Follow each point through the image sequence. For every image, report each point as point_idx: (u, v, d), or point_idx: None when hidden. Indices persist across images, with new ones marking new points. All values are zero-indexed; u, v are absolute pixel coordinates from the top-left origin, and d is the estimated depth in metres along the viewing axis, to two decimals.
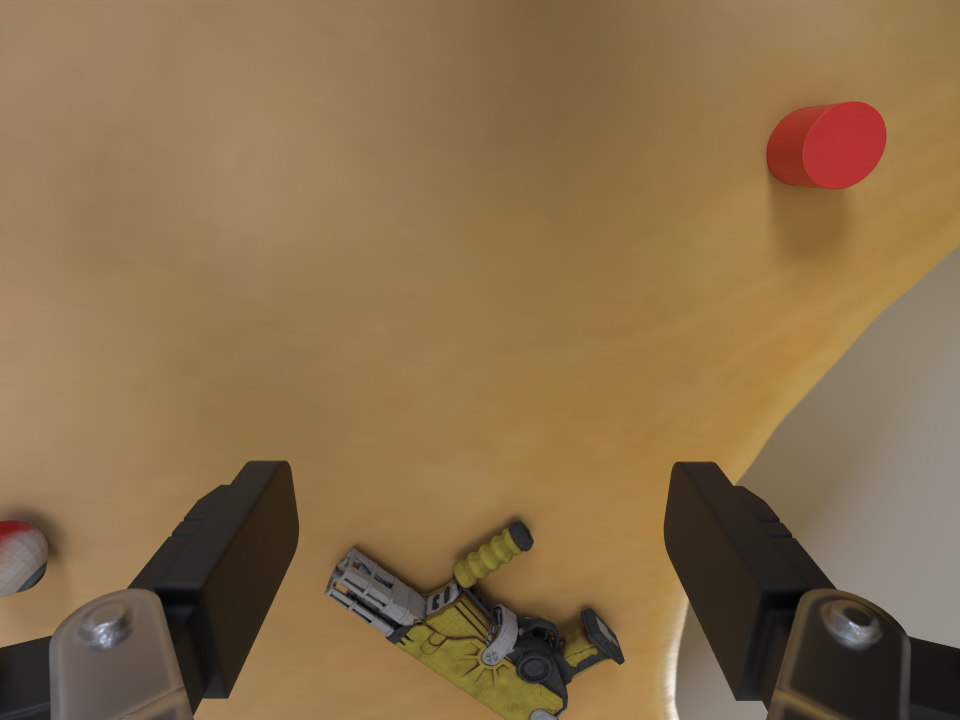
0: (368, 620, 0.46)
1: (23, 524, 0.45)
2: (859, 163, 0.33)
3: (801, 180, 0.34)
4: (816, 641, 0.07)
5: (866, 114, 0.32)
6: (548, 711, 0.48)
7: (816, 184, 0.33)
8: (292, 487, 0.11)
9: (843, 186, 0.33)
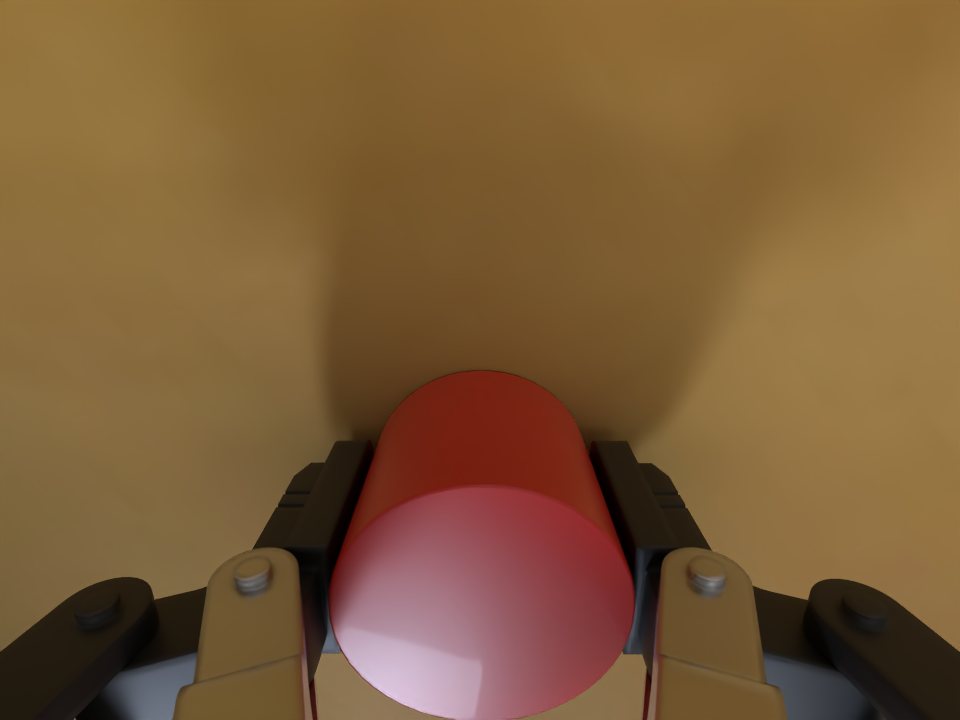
0: None
1: None
2: (447, 544, 0.08)
3: (608, 511, 0.09)
4: (681, 600, 0.07)
5: (383, 666, 0.09)
6: None
7: (614, 541, 0.08)
8: None
9: (531, 498, 0.08)
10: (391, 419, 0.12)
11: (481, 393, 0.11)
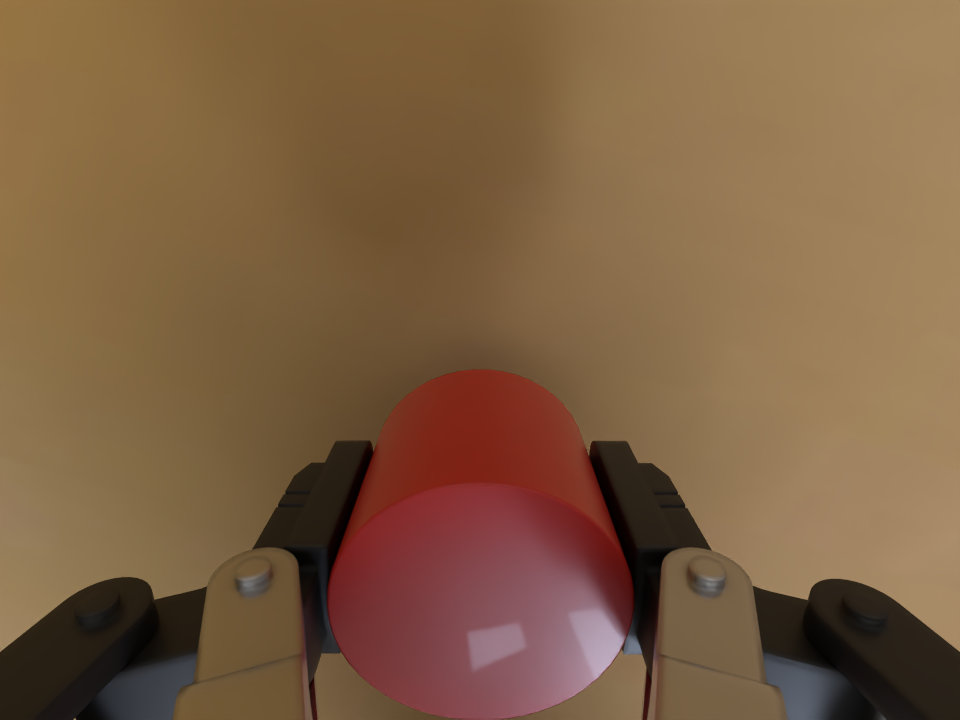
0: None
1: None
2: (445, 542, 0.08)
3: (607, 510, 0.09)
4: (681, 599, 0.07)
5: (381, 665, 0.09)
6: None
7: (613, 539, 0.08)
8: None
9: (529, 497, 0.08)
10: (390, 418, 0.12)
11: (480, 392, 0.11)
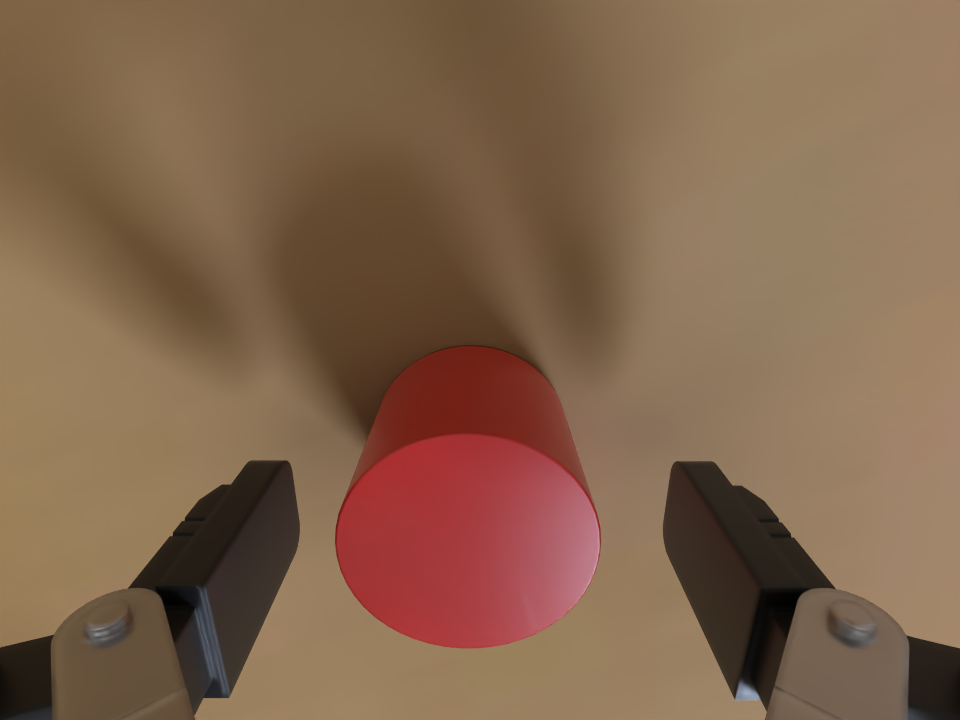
0: None
1: None
2: (437, 486, 0.09)
3: (579, 463, 0.11)
4: (815, 640, 0.07)
5: (383, 597, 0.10)
6: None
7: (581, 483, 0.10)
8: (293, 487, 0.11)
9: (508, 445, 0.09)
10: (389, 390, 0.13)
11: (469, 364, 0.12)
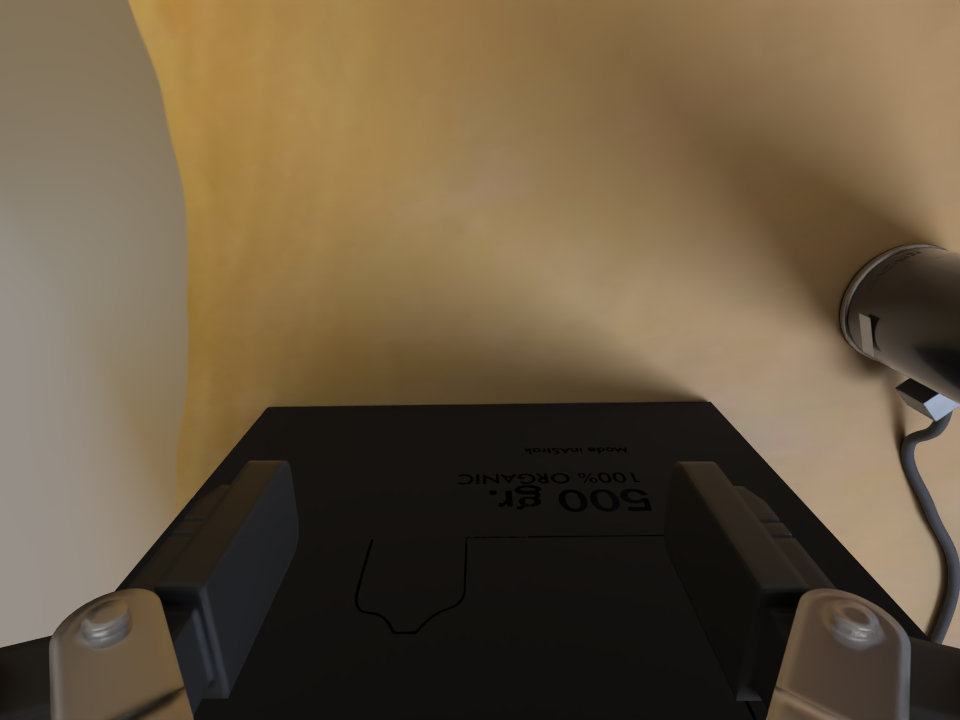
0: None
1: None
2: None
3: None
4: (816, 641, 0.07)
5: None
6: None
7: None
8: (292, 487, 0.11)
9: None
10: None
11: None
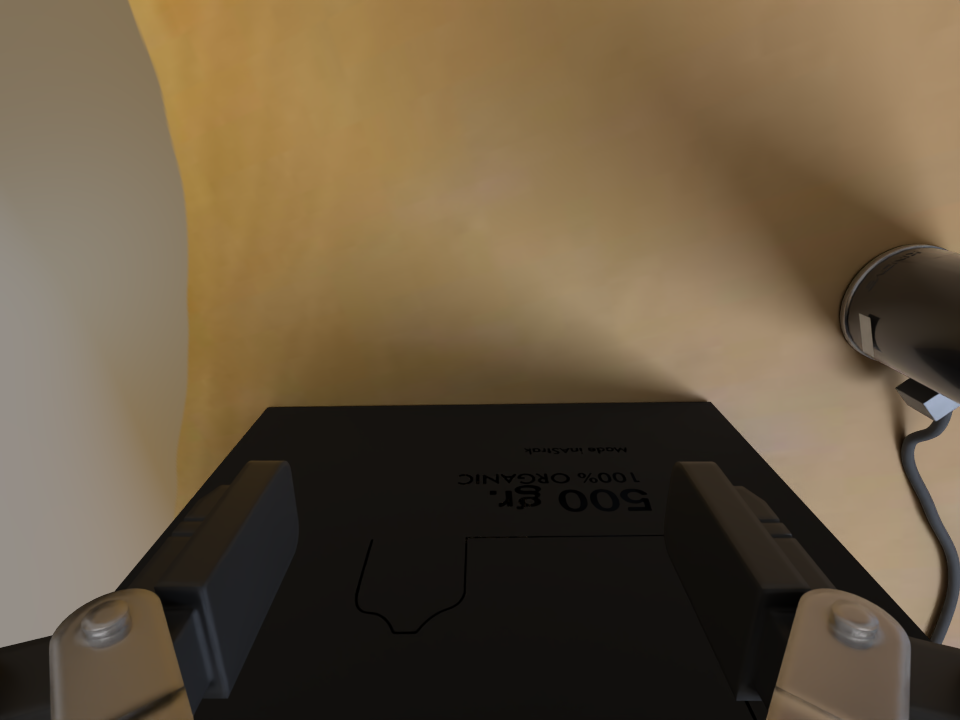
0: None
1: None
2: None
3: None
4: (816, 641, 0.07)
5: None
6: None
7: None
8: (292, 487, 0.11)
9: None
10: None
11: None
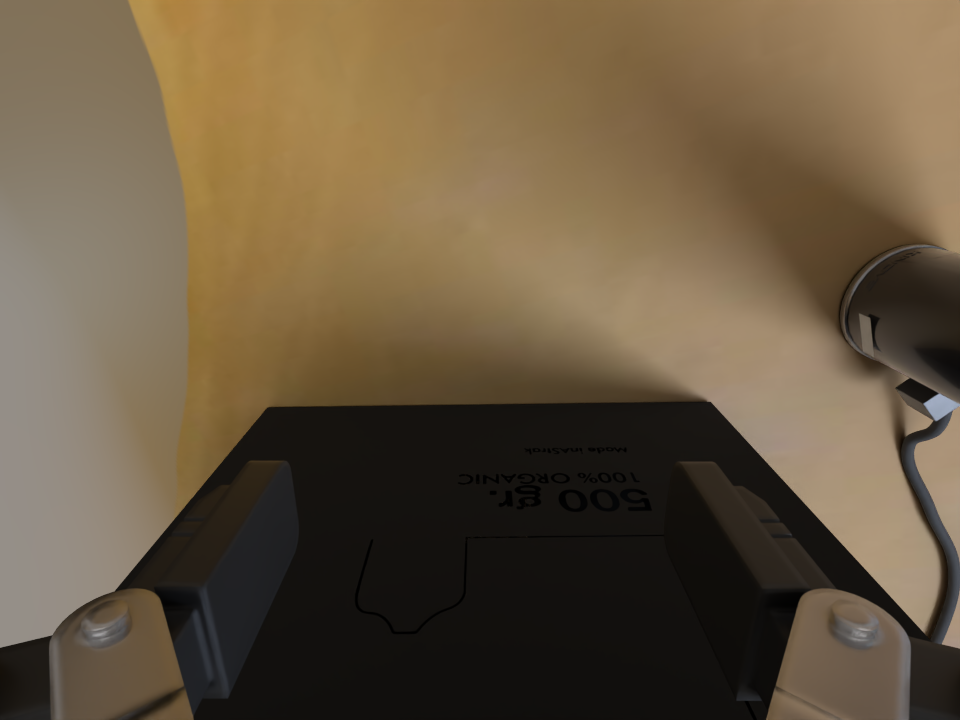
0: None
1: None
2: None
3: None
4: (816, 641, 0.07)
5: None
6: None
7: None
8: (292, 487, 0.11)
9: None
10: None
11: None
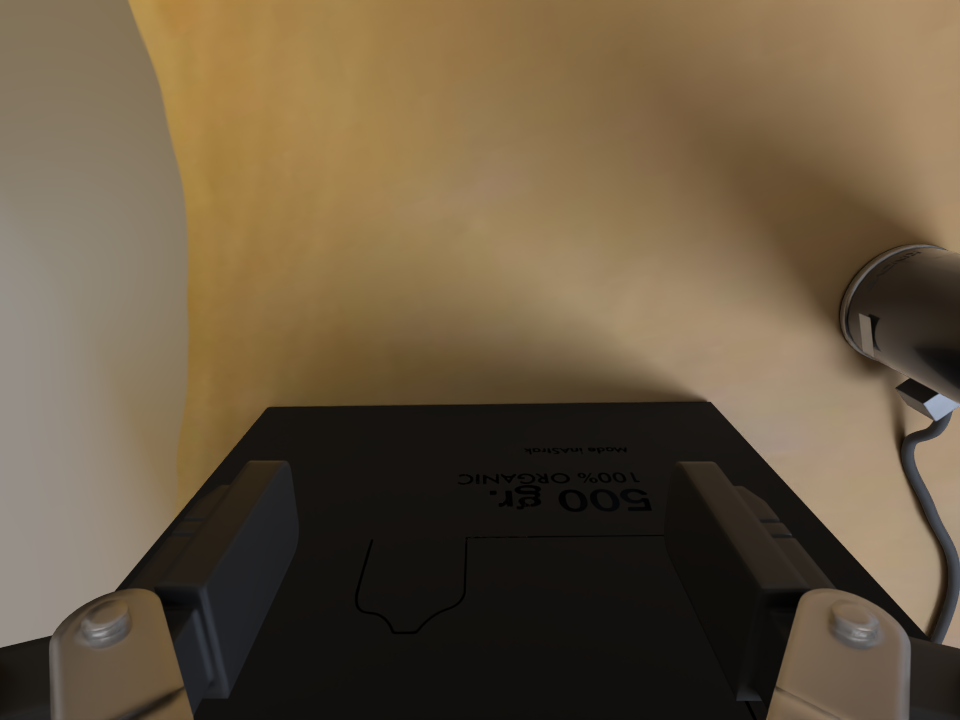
0: None
1: None
2: None
3: None
4: (816, 641, 0.07)
5: None
6: None
7: None
8: (292, 487, 0.11)
9: None
10: None
11: None
